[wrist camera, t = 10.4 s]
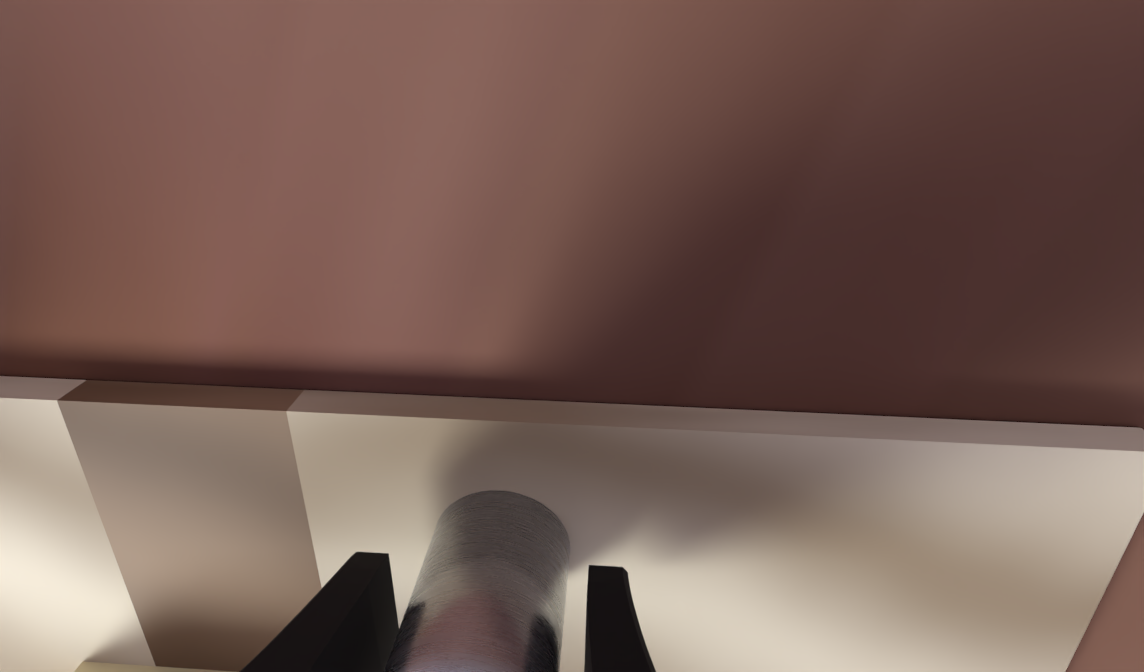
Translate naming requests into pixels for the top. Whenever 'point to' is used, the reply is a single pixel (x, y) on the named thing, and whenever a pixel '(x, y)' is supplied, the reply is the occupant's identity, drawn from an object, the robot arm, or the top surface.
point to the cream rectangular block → (132, 668)
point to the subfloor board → (582, 503)
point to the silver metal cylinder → (488, 590)
